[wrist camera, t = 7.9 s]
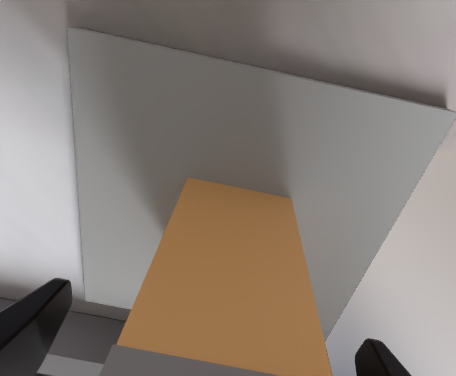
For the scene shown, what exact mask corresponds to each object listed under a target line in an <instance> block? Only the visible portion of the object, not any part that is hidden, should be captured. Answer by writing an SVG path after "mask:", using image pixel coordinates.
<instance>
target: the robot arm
mask: <svg viewBox="0 0 456 376" xmlns="http://www.w3.org/2000/svg"><path fill="white" fill-rule="evenodd" d="M71 304H72V289H71V282H70V281H69V280H66V279H61V278H55V279H52V280H51V281H49V282H47V283H46V284H44V285H43V286H41V287H39V288H38V289H36V290H35V291H33V292H31V293H30V294H28V295H27V296H25V297H23V298H22V299H20V300H18V301H17V302H15V303H14V304H12V305H10V306H9V307H7V308H6V309H4V310H2V311H1V312H0V376H35V375H36V373H37V371H38V370H39V368H40V366H41V365H42V363H43V361H44V360H45V358H46V356H47V354H48V352H49V350H50V348H51V346H52V344H53V342H54V339H55V337H56V335H57V333H58V331H59V329H60V327H61V325H62V323H63V321H64V319H65V317H66V315H67V313H68V311H69V309H70V306H71ZM355 365H356V373H357V376H411V375H410V374H409V372H408V371H407V370H406V369H405V368H404V367H403V366H402V364H401V363H400V362H399V361H398V360H397V358H396V357H395V356H394V355H393V354H392V353H391V352H390V350H389V349H388V348H387V347H386V346H385V344H383V342H381V341H379V340H375V339H369V338H368V339H366V340H365V341H364V342H363V344H362V345H361V347H360V348H359V350H358V351H357V353H356V355H355Z"/></svg>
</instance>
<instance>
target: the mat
mask: <svg viewBox="0 0 456 376" xmlns="http://www.w3.org/2000/svg"><path fill="white" fill-rule="evenodd" d="M67 37H68V52H69V67H70V81H71V96H72V111H73V126H74V141H75V156H76V171H77V186H78V200H79V215H80V230H81V245H82V260H83V275H84V290H85V301H88V302H93V303H98V304H104V305H109V306H114V307H119V308H125V309H130V310H131V309H132V307H133V304H134V302H135V300H136V297H137V295H138V293H139V290H140V288H141V286H142V283H143V281H144V279H145V276H146V274H147V272H148V269H149V267H150V265H151V262H152V260H153V258H154V255H155V253H156V251H157V248H158V246H159V243H160V241H161V239H162V236H163V234H164V232H165V229H166V227H167V225H168V222H169V220H170V218H171V215H172V213H173V211H174V208H175V206H176V204H177V201H178V199H179V197H180V194H181V192H182V190H183V187H184V185H185V183H186V180H187V178H188V177H190V178H195V179H199V180H204V181H209V182H214V183H219V184H224V185H228V186H233V187H238V188H243V189H248V190H252V191H257V192H262V193H267V194H272V195H277V196H281V197H286V198H291V199H292V203H293V207H294V212H295V216H296V220H297V225H298V229H299V233H300V238H301V242H302V246H303V251H304V255H305V259H306V264H307V268H308V272H309V277H310V281H311V285H312V290H313V294H314V298H315V303H316V307H317V311H318V315H319V320H320V324H321V328H322V333H323V337H324V341H326V339H327V337H328V335H329V334H330V332H331V330H332V328H333V327H334V325H335V324H336V322H337V320H338V318H339V317H340V315H341V313H342V311H343V310H344V308H345V307H346V305H347V303H348V301H349V300H350V298H351V296H352V295H353V293H354V291H355V289H356V288H357V286H358V284H359V283H360V281H361V279H362V277H363V276H364V274H365V272H366V271H367V269H368V267H369V265H370V264H371V262H372V260H373V259H374V257H375V255H376V254H377V252H378V250H379V249H380V247H381V245H382V243H383V242H384V240H385V238H386V237H387V235H388V233H389V231H390V230H391V228H392V226H393V225H394V223H395V221H396V219H397V218H398V216H399V214H400V213H401V211H402V209H403V208H404V206H405V204H406V203H407V201H408V199H409V197H410V196H411V194H412V192H413V190H414V189H415V187H416V185H417V184H418V182H419V180H420V178H421V177H422V175H423V173H424V172H425V170H426V168H427V167H428V165H429V163H430V161H431V160H432V158H433V156H434V155H435V153H436V151H437V150H438V148H439V146H440V145H441V143H442V141H443V139H444V138H445V136H446V134H447V133H448V131H449V129H450V128H451V126H452V124H453V122H454V121H455V119H456V112H455V111H452V110H450V109H446V108H442V107H437V106H433V105H428V104H424V103H419V102H415V101H410V100H406V99H401V98H396V97H392V96H387V95H383V94H378V93H374V92H369V91H365V90H360V89H356V88H351V87H346V86H342V85H337V84H333V83H328V82H324V81H319V80H315V79H310V78H306V77H301V76H296V75H292V74H287V73H283V72H278V71H274V70H269V69H265V68H260V67H256V66H251V65H246V64H242V63H237V62H233V61H228V60H224V59H219V58H215V57H210V56H206V55H201V54H196V53H192V52H187V51H183V50H178V49H174V48H169V47H165V46H160V45H156V44H151V43H146V42H142V41H137V40H133V39H128V38H124V37H119V36H115V35H110V34H106V33H101V32H96V31H92V30H87V29H83V28H78V27H67Z"/></svg>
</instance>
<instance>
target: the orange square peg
mask: <svg viewBox="0 0 456 376" xmlns="http://www.w3.org/2000/svg"><path fill="white" fill-rule="evenodd" d="M99 376H332V372H331V367H330V363H329V359H328V355H327V350H326V346H325V341H324V337H323V333H322V328H321V324H320V320H319V315H318V311H317V307H316V303H315V298H314V294H313V290H312V285H311V281H310V277H309V272H308V268H307V264H306V259H305V255H304V251H303V246H302V242H301V238H300V233H299V229H298V225H297V220H296V216H295V212H294V207H293V203H292V199H291V198H286V197H281V196H277V195H272V194H267V193H262V192H257V191H252V190H248V189H243V188H238V187H233V186H228V185H224V184H219V183H214V182H209V181H204V180H199V179H195V178H190V177H188V178H187V180H186V183H185V185H184V187H183V190H182V192H181V194H180V197H179V199H178V201H177V204H176V206H175V208H174V211H173V213H172V215H171V218H170V220H169V222H168V225H167V227H166V229H165V232H164V234H163V236H162V239H161V241H160V243H159V246H158V248H157V251H156V253H155V255H154V258H153V260H152V262H151V265H150V267H149V269H148V272H147V274H146V276H145V279H144V281H143V283H142V286H141V288H140V290H139V293H138V295H137V297H136V300H135V302H134V304H133V307H132V309H131V311H130V314H129V316H128V318H127V321H126V323H125V325H124V328H123V330H122V332H121V335H120V337H119V339H118V342H117V344H116V345H114V344H113V345H112V347H111V350H110V352H109V354H108V356H107V359H106V361H105V363H104V365H103V368H102V370H101V372H100V375H99Z"/></svg>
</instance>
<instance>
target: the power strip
mask: <svg viewBox="0 0 456 376" xmlns="http://www.w3.org/2000/svg"><path fill="white" fill-rule="evenodd" d="M15 302H17V301H13V300H8V299H3V298H0V312H1V311H2V310H4V309H6V308H7V307H9V306H10V305H12V304H14V303H15ZM125 323H126V322H124V321H119V320H113V319H108V318H103V317H97V316H92V315H87V314H82V313H76V312H71V311H68V313H67V315H66V317H65V319H64V321H63V323H62V325H61V327H60V329H59V331H58V333H57V335H56V337H55V339H54V342H53V344H52V346H51V348H50V350H49V352H48V354H47V356H46V358H45V360H44V361H43V363H42V365H41V366H40V368H39V370H38V371H37V373H36V375H35V376H99V375H100V372H101V370H102V368H103V365H104V363H105V361H106V359H107V356H108V354H109V352H110V350H111V347H112V345H113V344H114V345H116V344H117V342H118V339H119V337H120V335H121V332H122V330H123V328H124V325H125Z"/></svg>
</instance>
